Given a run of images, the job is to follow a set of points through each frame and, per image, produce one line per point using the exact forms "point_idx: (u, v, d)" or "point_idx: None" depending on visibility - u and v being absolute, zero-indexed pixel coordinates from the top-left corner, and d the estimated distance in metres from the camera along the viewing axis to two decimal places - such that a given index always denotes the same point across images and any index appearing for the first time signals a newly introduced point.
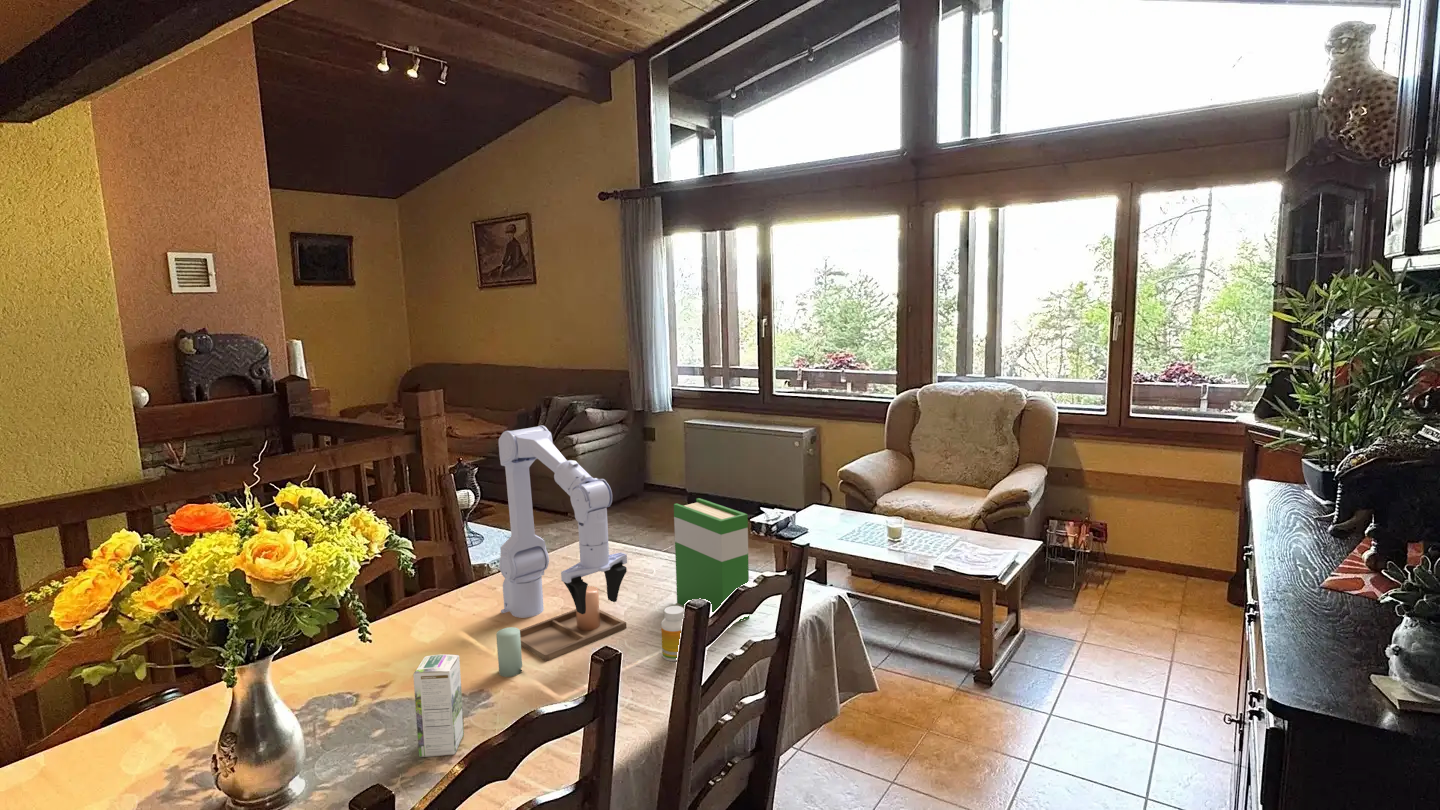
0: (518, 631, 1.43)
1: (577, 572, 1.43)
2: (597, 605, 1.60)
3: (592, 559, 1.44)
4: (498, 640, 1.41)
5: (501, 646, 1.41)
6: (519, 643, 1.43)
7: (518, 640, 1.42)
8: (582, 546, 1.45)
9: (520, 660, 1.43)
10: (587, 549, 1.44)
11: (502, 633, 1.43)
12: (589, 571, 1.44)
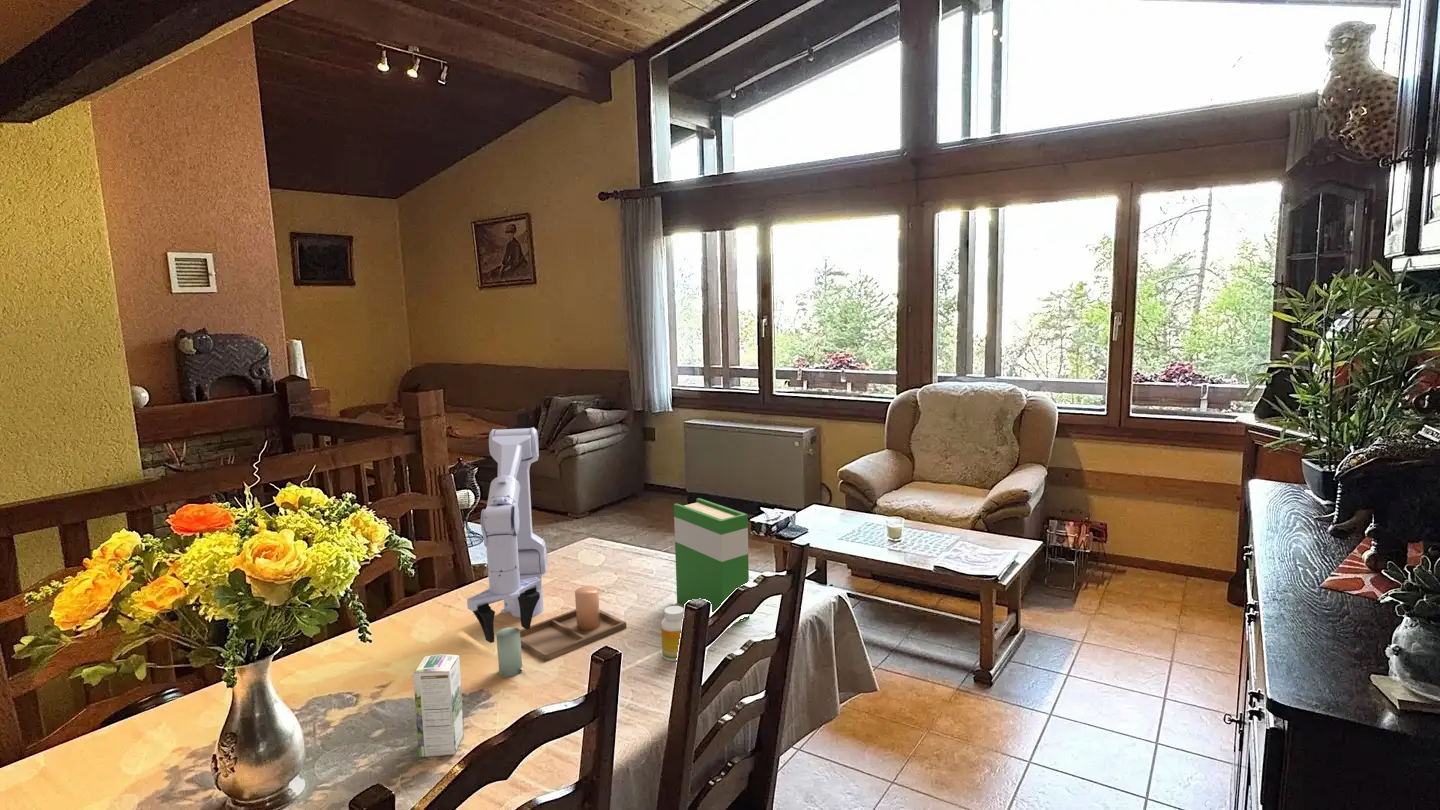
0: (518, 631, 1.43)
1: (484, 599, 1.37)
2: (597, 605, 1.60)
3: (500, 585, 1.38)
4: (498, 640, 1.41)
5: (501, 645, 1.41)
6: (519, 643, 1.43)
7: (518, 640, 1.42)
8: (490, 572, 1.39)
9: (520, 660, 1.43)
10: (495, 575, 1.38)
11: (502, 633, 1.43)
12: (497, 598, 1.38)
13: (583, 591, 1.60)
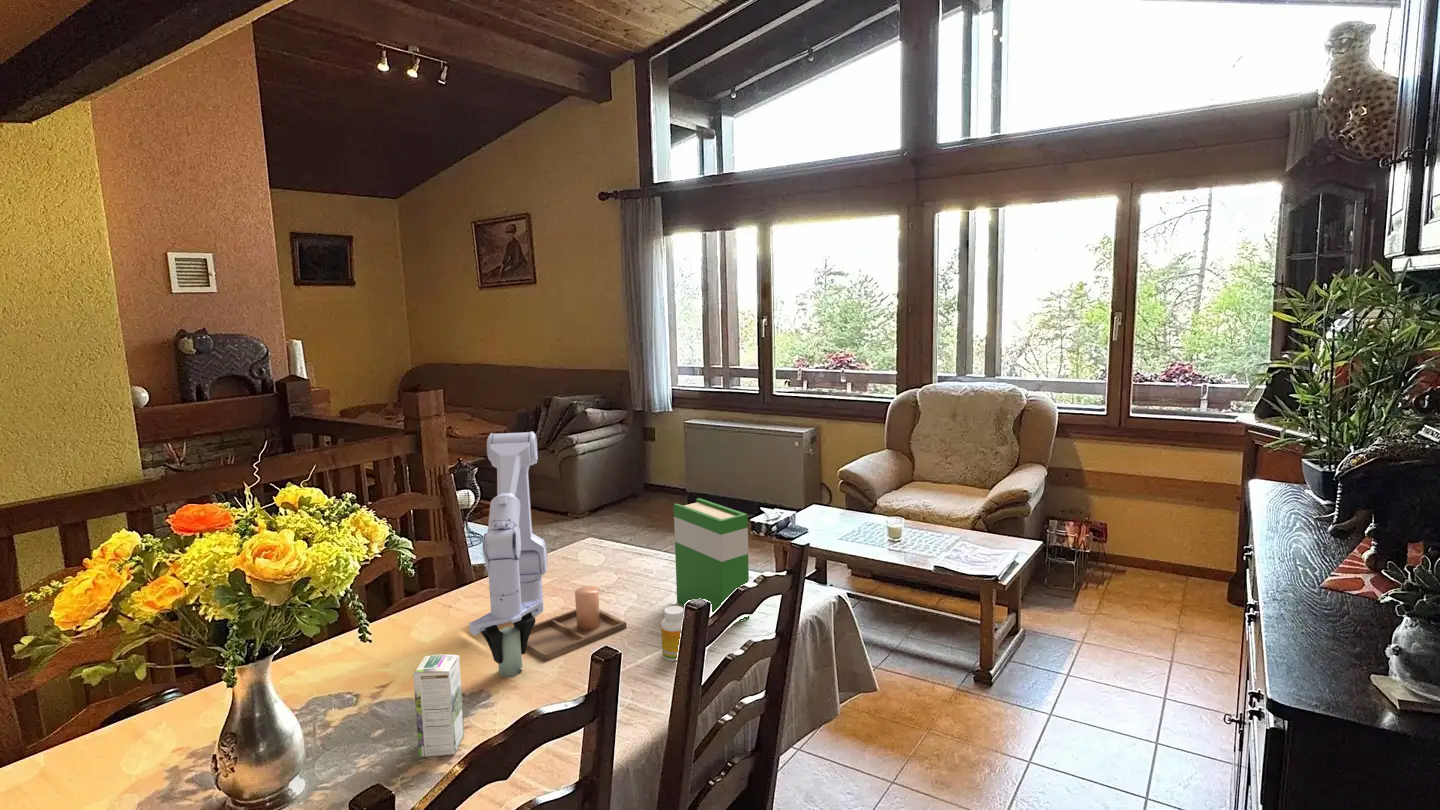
0: (518, 631, 1.43)
1: (485, 623, 1.38)
2: (597, 605, 1.60)
3: (501, 609, 1.39)
4: None
5: None
6: (519, 643, 1.43)
7: (518, 640, 1.42)
8: (492, 596, 1.39)
9: (520, 660, 1.43)
10: (497, 599, 1.39)
11: None
12: (498, 622, 1.39)
13: (583, 591, 1.60)
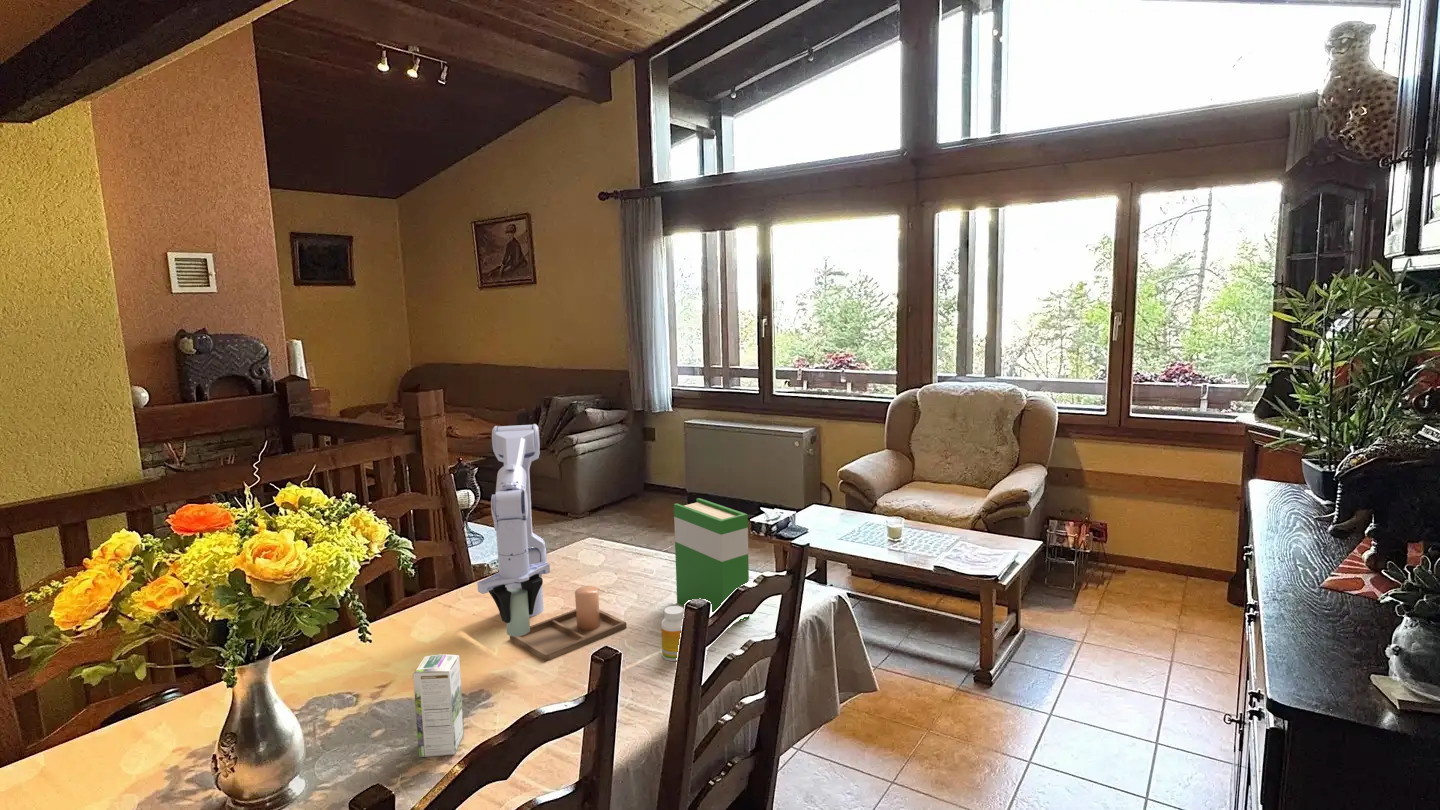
0: (526, 591, 1.45)
1: (494, 582, 1.39)
2: (597, 605, 1.60)
3: (509, 569, 1.41)
4: None
5: None
6: (526, 603, 1.44)
7: (525, 600, 1.44)
8: (500, 556, 1.41)
9: (528, 620, 1.45)
10: (505, 559, 1.41)
11: None
12: (506, 581, 1.40)
13: (583, 591, 1.60)
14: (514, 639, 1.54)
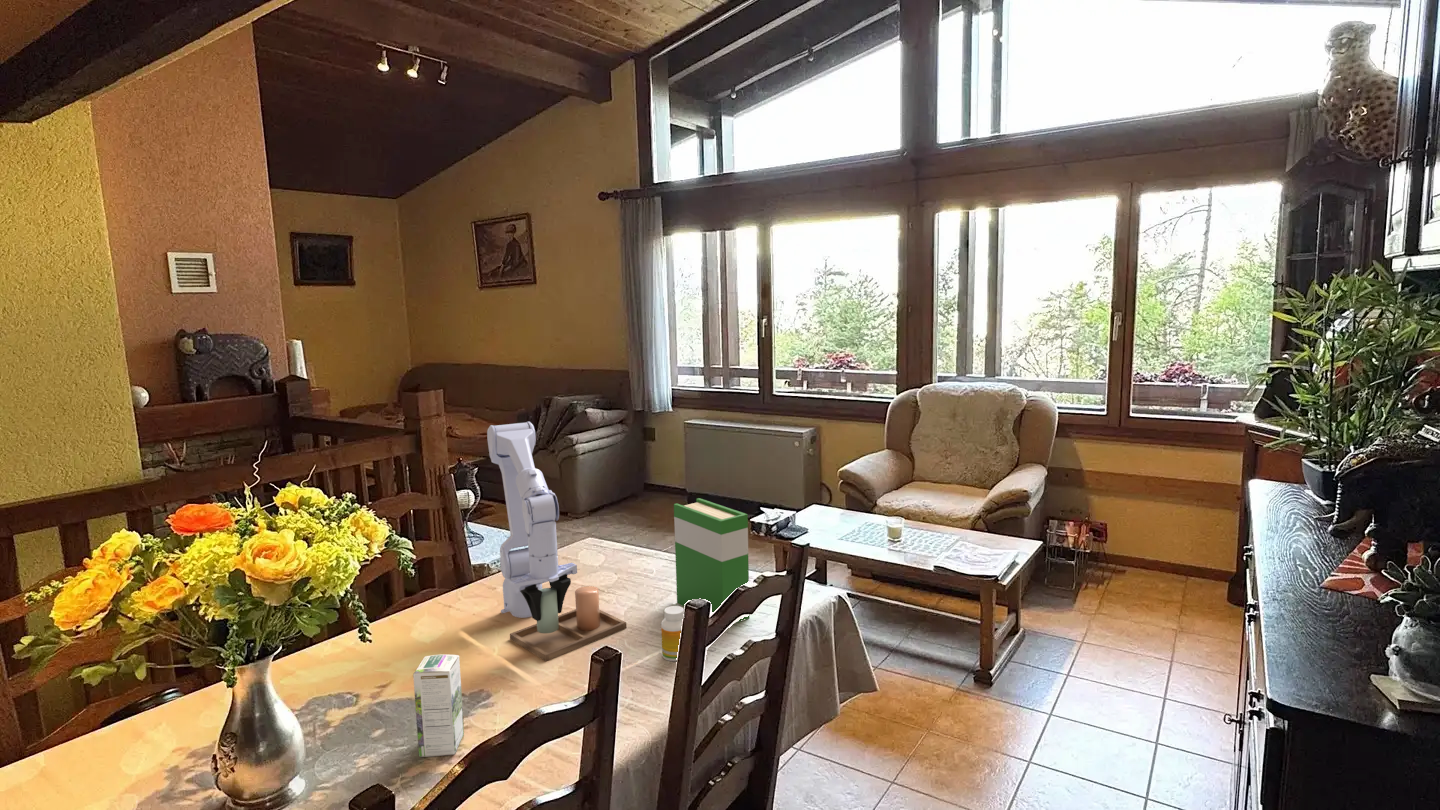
0: (555, 591, 1.53)
1: (526, 582, 1.48)
2: (597, 605, 1.60)
3: (540, 569, 1.49)
4: None
5: None
6: (556, 602, 1.53)
7: (555, 599, 1.52)
8: (531, 557, 1.49)
9: (557, 618, 1.53)
10: (536, 560, 1.49)
11: None
12: (538, 581, 1.49)
13: (583, 591, 1.60)
14: (514, 639, 1.54)
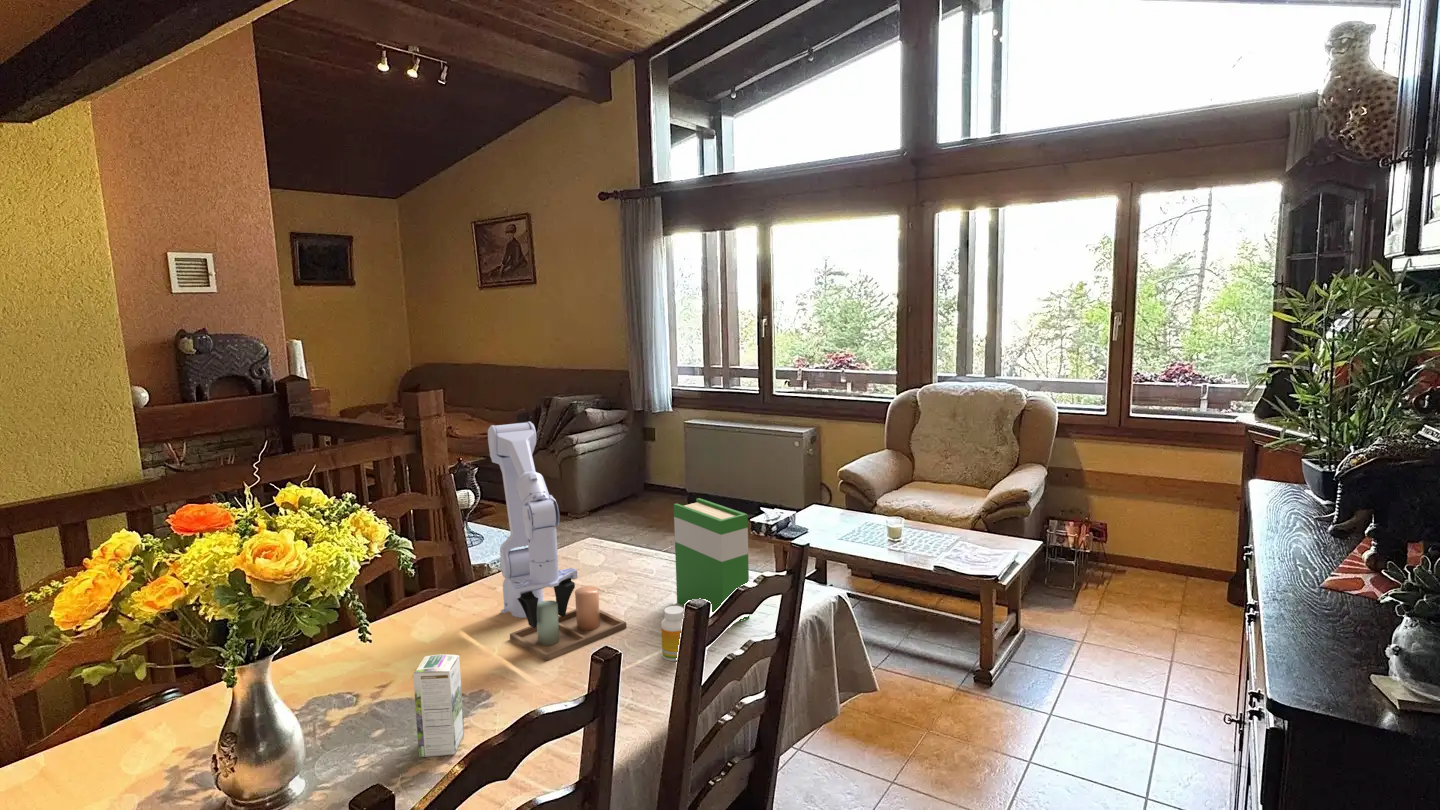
0: (556, 604, 1.54)
1: (526, 588, 1.48)
2: (597, 605, 1.60)
3: (541, 575, 1.49)
4: (538, 611, 1.52)
5: (540, 616, 1.51)
6: (557, 615, 1.53)
7: (556, 612, 1.53)
8: (531, 562, 1.50)
9: (557, 631, 1.54)
10: (536, 565, 1.49)
11: (541, 605, 1.53)
12: (538, 587, 1.49)
13: (583, 591, 1.60)
14: (514, 639, 1.54)
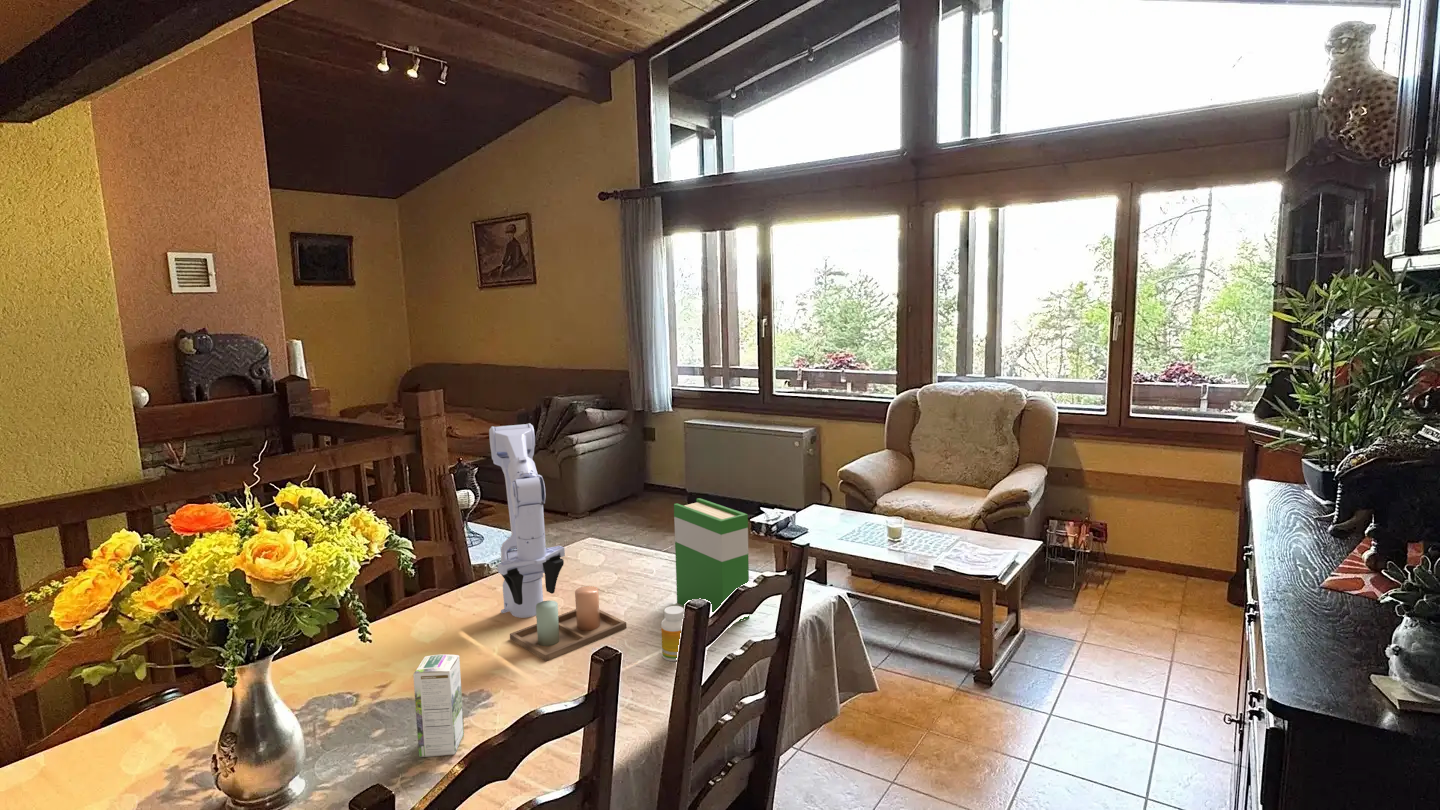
0: (556, 604, 1.53)
1: (513, 564, 1.49)
2: (597, 605, 1.60)
3: (528, 551, 1.50)
4: (538, 612, 1.52)
5: (540, 617, 1.51)
6: (557, 615, 1.53)
7: (556, 612, 1.53)
8: (518, 539, 1.50)
9: (557, 631, 1.54)
10: (523, 542, 1.50)
11: (541, 605, 1.53)
12: (525, 563, 1.50)
13: (583, 591, 1.60)
14: (514, 639, 1.54)
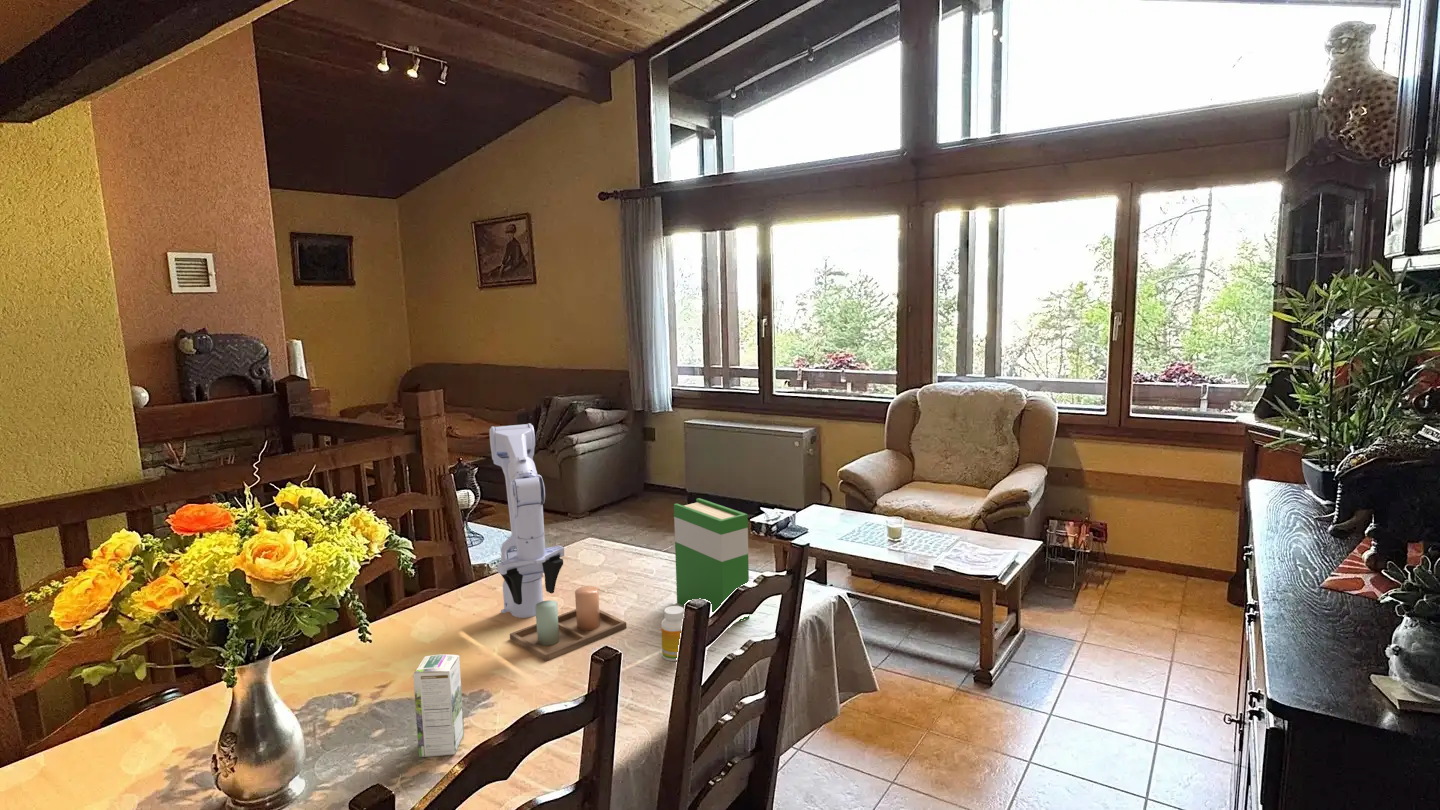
0: (555, 603, 1.54)
1: (512, 564, 1.49)
2: (597, 605, 1.60)
3: (527, 551, 1.50)
4: (537, 611, 1.52)
5: (539, 616, 1.52)
6: (556, 614, 1.53)
7: (555, 611, 1.53)
8: (518, 539, 1.50)
9: (557, 631, 1.54)
10: (523, 542, 1.50)
11: (541, 605, 1.53)
12: (524, 563, 1.50)
13: (583, 591, 1.60)
14: (514, 639, 1.54)
